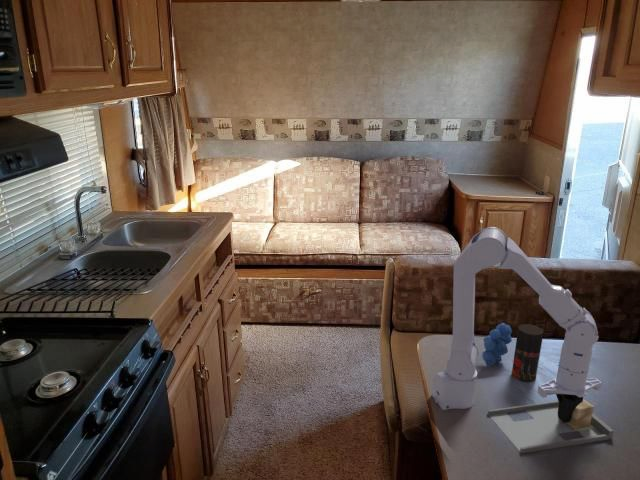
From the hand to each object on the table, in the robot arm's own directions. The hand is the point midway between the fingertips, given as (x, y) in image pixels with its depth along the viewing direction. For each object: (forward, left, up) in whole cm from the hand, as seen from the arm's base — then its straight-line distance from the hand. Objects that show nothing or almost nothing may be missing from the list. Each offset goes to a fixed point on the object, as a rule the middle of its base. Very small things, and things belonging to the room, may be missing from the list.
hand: (563, 419), depth 109 cm
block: (+3, 0, -1) cm, 3 cm away
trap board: (-4, 0, -3) cm, 5 cm away
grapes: (0, +29, -3) cm, 29 cm away
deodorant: (+3, +19, -3) cm, 20 cm away
